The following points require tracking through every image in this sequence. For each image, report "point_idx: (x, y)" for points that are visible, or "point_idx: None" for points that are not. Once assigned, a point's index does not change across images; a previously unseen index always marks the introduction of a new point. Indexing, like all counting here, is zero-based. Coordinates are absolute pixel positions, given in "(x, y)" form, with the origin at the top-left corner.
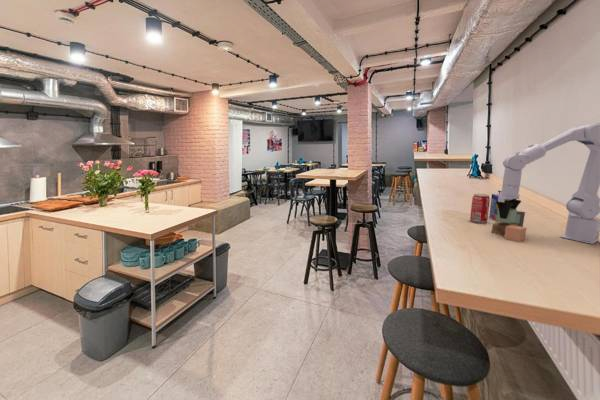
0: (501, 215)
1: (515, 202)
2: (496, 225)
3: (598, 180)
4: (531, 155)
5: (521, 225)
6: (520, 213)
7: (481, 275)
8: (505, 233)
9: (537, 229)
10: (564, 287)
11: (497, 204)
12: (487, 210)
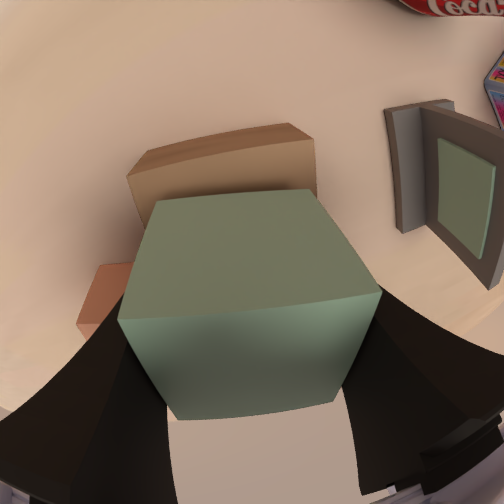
0: None
1: (371, 467)
2: (140, 203)
3: None
4: None
5: (432, 225)
6: (487, 261)
7: None
8: (91, 290)
9: (453, 253)
10: (14, 401)
11: (19, 415)
12: (485, 3)
